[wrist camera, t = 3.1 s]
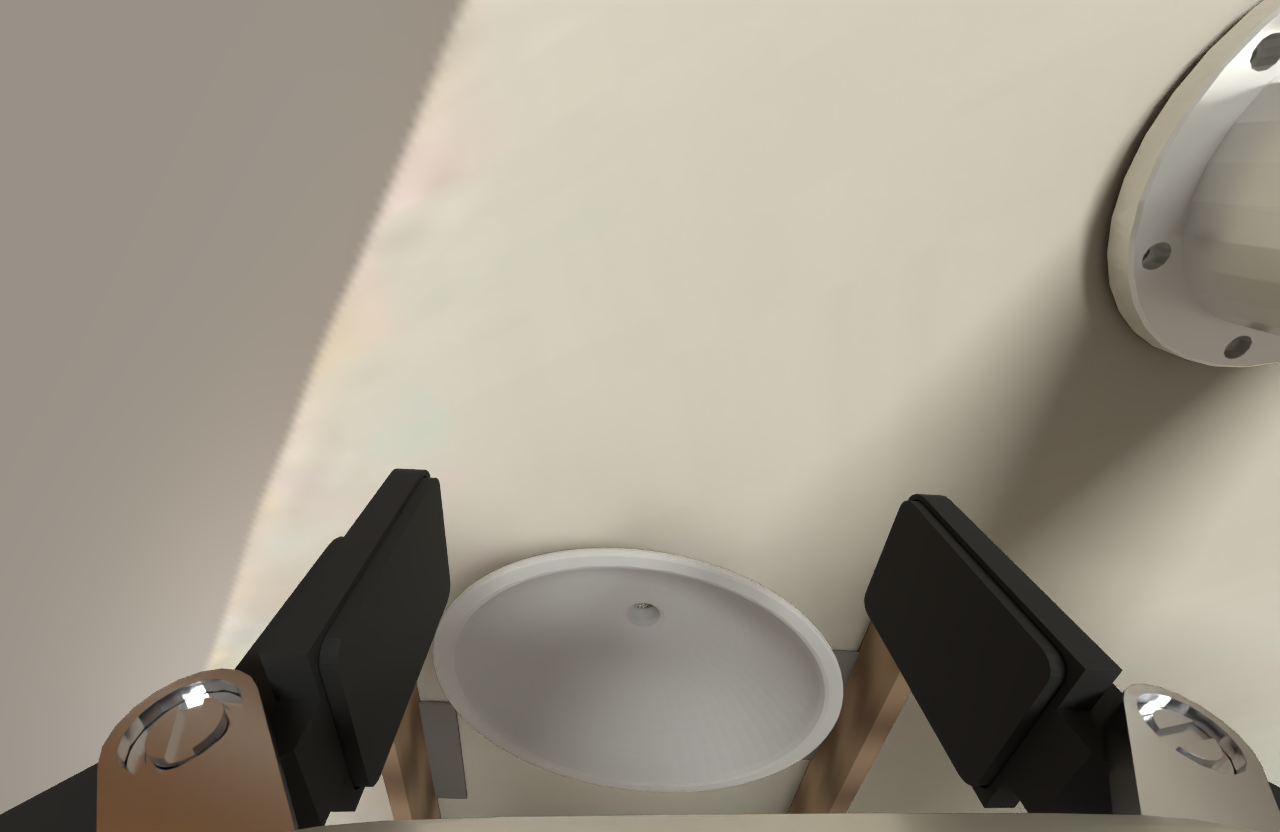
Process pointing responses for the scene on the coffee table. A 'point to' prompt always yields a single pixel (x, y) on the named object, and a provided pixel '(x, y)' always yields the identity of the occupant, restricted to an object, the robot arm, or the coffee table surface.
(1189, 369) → the coffee table surface
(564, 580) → the dish
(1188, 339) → the robot arm
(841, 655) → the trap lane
